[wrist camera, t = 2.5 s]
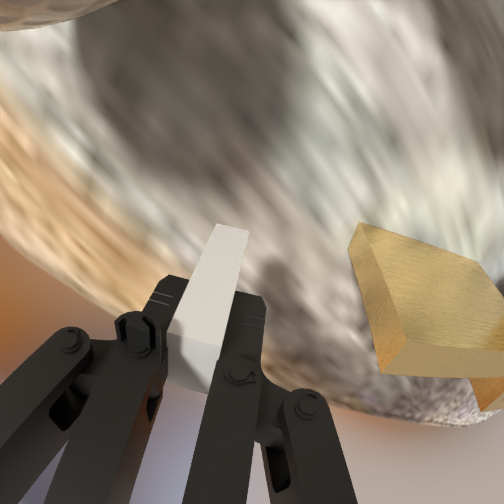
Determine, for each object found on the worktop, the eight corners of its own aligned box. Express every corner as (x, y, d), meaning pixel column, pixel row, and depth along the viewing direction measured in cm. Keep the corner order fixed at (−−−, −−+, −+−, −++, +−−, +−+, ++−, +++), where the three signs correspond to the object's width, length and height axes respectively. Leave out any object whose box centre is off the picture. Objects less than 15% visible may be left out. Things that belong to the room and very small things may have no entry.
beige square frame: (382, 161, 15) (468, 247, 7) (553, 252, 15) (605, 316, 7) (326, 295, 20) (338, 417, 12) (502, 330, 21) (536, 400, 12)
